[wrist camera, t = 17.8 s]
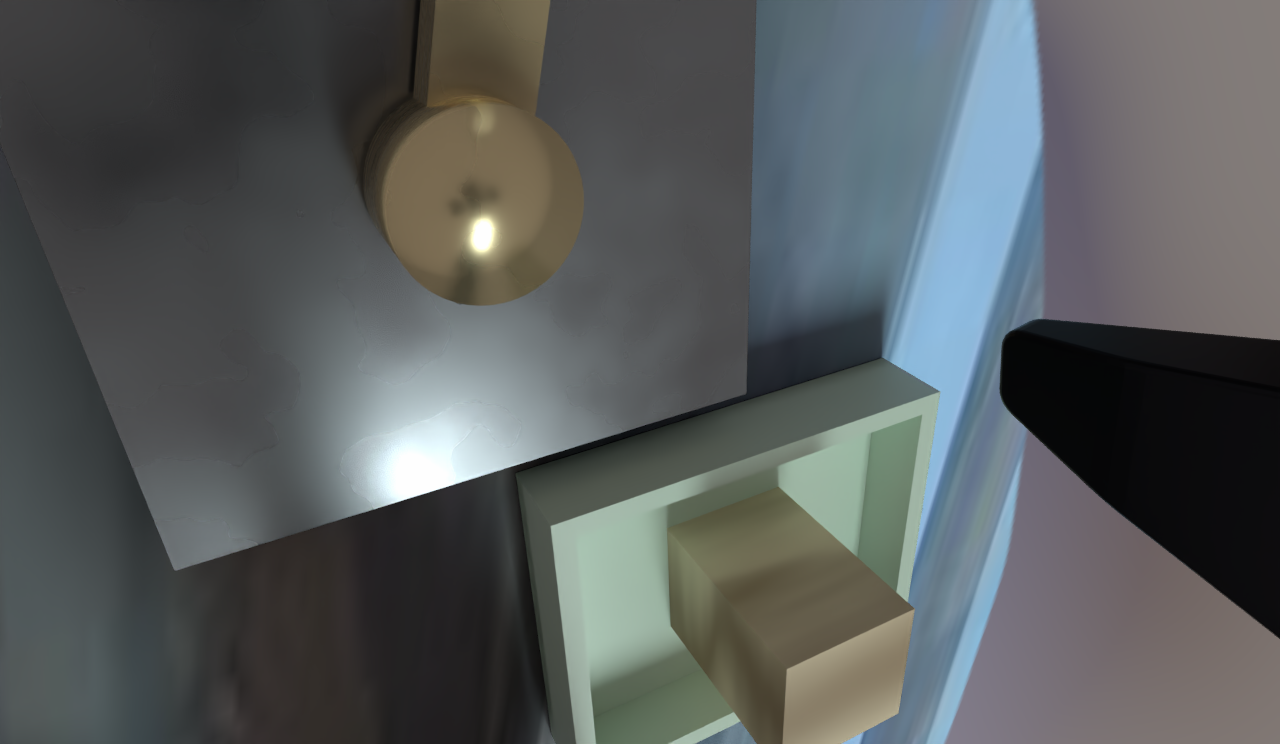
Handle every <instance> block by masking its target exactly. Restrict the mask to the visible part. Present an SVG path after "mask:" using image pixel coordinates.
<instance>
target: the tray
mask: <svg viewBox="0 0 1280 744" xmlns="http://www.w3.org/2000/svg"><path fill="white" fill-rule="evenodd" d="M939 397H940V391H938V390H936V389H935V388H933V387H931V386H930V385H928V384H926V383H925V382H923V381H921V380H920V379H918V378H916V377H914V376H913V375H911V374H909V373H908V372H906V371H904V370H903V369H901V368H899V367H897V366H896V365H894V364H892V363H891V362H889V361H887V360H886V359H884V358H880V359H877V360H874V361H871V362H868V363H865V364H861V365H858V366H855V367H852V368H849V369H845V370H842V371H839V372H836V373H833V374H829V375H826V376H823V377H820V378H817V379H814V380H810V381H807V382H804V383H801V384H798V385H794V386H791V387H788V388H785V389H782V390H778V391H775V392H772V393H769V394H766V395H762V396H759V397H756V398H753V399H750V400H747V401H743V402H740V403H737V404H734V405H731V406H727V407H724V408H721V409H718V410H715V411H711V412H708V413H705V414H702V415H699V416H695V417H692V418H689V419H686V420H683V421H680V422H676V423H673V424H670V425H667V426H664V427H660V428H657V429H654V430H651V431H648V432H644V433H641V434H638V435H635V436H632V437H628V438H625V439H622V440H619V441H616V442H613V443H609V444H606V445H603V446H600V447H597V448H593V449H590V450H587V451H584V452H581V453H577V454H574V455H571V456H568V457H565V458H562V459H558V460H555V461H552V462H549V463H546V464H542V465H539V466H536V467H533V468H530V469H526V470H523V471H520V472H517V473H516V480H517V487H518V494H519V502H520V509H521V516H522V523H523V531H524V538H525V545H526V552H527V560H528V567H529V574H530V582H531V589H532V596H533V603H534V611H535V618H536V625H537V633H538V640H539V647H540V654H541V662H542V669H543V676H544V683H545V691H546V698H547V705H548V713H549V720H550V727H551V734H552V737H553V739H554V741H555V743H556V744H695V743H697V742H699V741H701V740H703V739H705V738H707V737H709V736H711V735H713V734H715V733H718V732H720V731H722V730H724V729H726V728H728V727H730V726H732V725H734V724H736V723H738V722H740V720H739V718H738V717H737V716H736V714H735V713H734V712H733V710H732V709H731V708H730V706H729V705H728V703H727V702H726V701H725V699H724V698H723V697H722V695H721V694H720V693H719V691H718V690H717V688H716V687H715V686H714V684H713V683H712V682H711V680H710V679H709V678H708V676H707V675H706V674H705V672H704V671H703V669H702V668H701V667H700V665H699V664H698V663H697V661H696V660H695V659H694V657H693V656H692V654H691V653H690V652H689V650H688V649H687V648H686V646H685V645H684V644H683V642H682V641H681V640H680V638H679V637H678V635H677V634H676V633H675V631H674V630H673V629H672V627H671V624H670V596H669V569H668V542H667V528H669V527H672V526H674V525H677V524H680V523H682V522H685V521H688V520H691V519H693V518H696V517H699V516H701V515H704V514H707V513H709V512H712V511H715V510H717V509H720V508H723V507H726V506H728V505H731V504H734V503H736V502H739V501H742V500H744V499H747V498H750V497H752V496H755V495H758V494H761V493H763V492H766V491H769V490H771V489H774V488H777V487H779V488H781V489H782V490H783V491H784V492H785V493H786V494H787V495H788V496H790V497H791V498H792V499H793V500H794V501H795V502H796V503H797V504H798V505H800V506H801V507H802V508H803V509H804V510H805V511H806V512H807V513H808V514H810V515H811V516H812V517H813V518H814V519H815V520H816V521H817V522H819V523H820V524H821V525H822V526H823V527H824V528H825V529H826V530H827V531H829V532H830V533H831V534H832V535H833V536H834V537H835V538H836V539H837V540H839V541H840V542H841V543H842V544H843V545H844V546H845V547H846V548H847V549H849V550H850V551H851V552H852V553H853V554H854V555H855V556H856V557H858V558H859V559H860V560H861V561H862V562H863V563H864V564H865V565H866V566H868V567H869V568H870V569H871V570H872V571H873V572H874V573H875V574H876V575H878V576H879V577H880V578H881V579H882V580H883V581H884V582H885V583H887V584H888V585H889V586H890V587H891V588H892V589H893V590H894V591H895V592H897V593H898V594H899V595H900V596H901V597H902V598H903V599H904V600H905V601H907V602H908V596H909V590H910V583H911V577H912V570H913V564H914V557H915V551H916V545H917V538H918V532H919V525H920V519H921V513H922V506H923V500H924V493H925V487H926V480H927V474H928V468H929V461H930V455H931V448H932V442H933V436H934V429H935V423H936V416H937V410H938V403H939Z"/></svg>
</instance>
